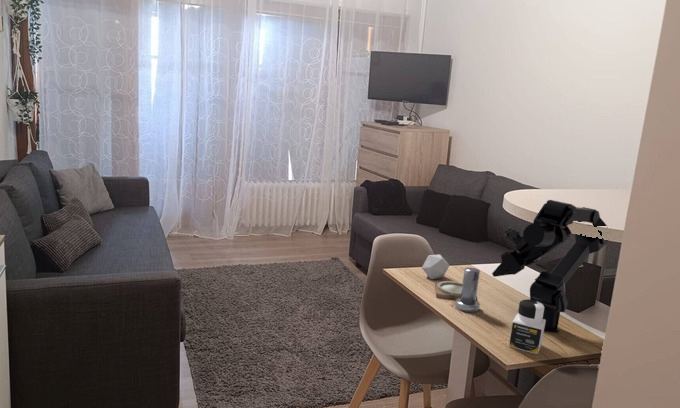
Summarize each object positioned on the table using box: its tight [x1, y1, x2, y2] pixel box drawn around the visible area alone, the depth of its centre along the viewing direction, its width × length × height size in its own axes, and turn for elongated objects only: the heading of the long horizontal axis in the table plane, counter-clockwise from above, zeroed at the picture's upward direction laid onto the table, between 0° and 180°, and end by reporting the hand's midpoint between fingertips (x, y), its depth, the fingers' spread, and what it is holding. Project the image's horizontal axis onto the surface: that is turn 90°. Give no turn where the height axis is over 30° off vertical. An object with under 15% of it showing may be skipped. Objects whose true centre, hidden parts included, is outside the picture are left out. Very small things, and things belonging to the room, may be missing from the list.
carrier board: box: [434, 280, 463, 301], centre depth 179 cm, size 12×12×2 cm
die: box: [421, 253, 450, 280], centre depth 192 cm, size 8×9×10 cm
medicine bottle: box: [508, 298, 545, 355], centre depth 143 cm, size 7×7×12 cm
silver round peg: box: [454, 267, 481, 314], centre depth 166 cm, size 7×7×12 cm
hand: (499, 271), depth 160 cm, fingers open, 9 cm apart
